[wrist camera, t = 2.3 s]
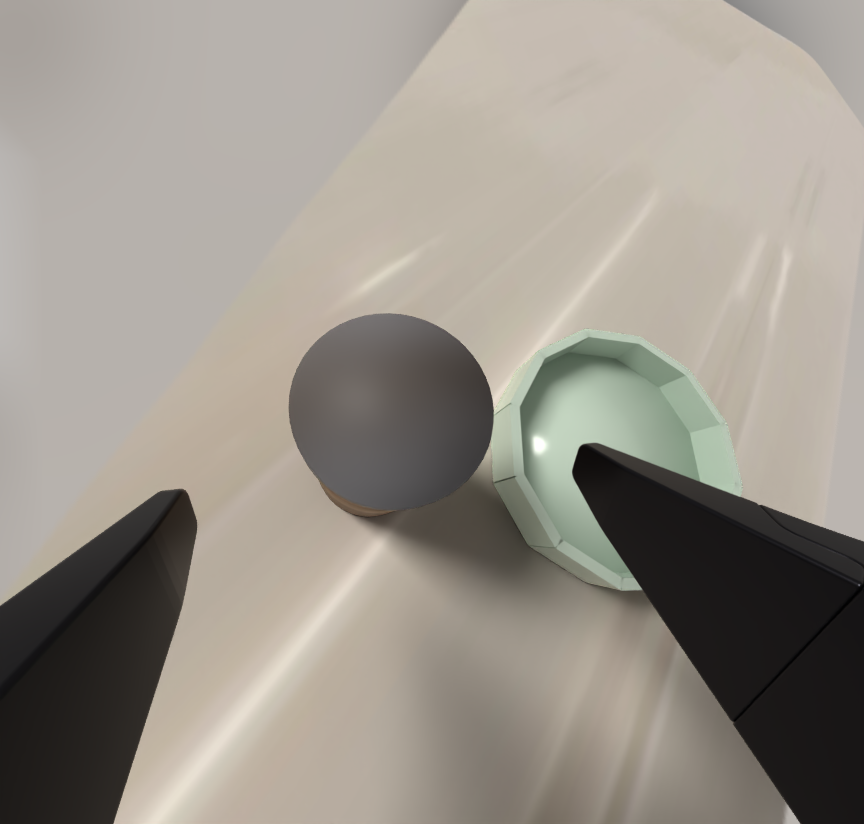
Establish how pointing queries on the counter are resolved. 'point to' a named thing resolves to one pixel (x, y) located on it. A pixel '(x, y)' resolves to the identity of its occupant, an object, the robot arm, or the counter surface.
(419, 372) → the walnut spice jar
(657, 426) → the sage green dish
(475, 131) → the counter surface
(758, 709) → the robot arm
